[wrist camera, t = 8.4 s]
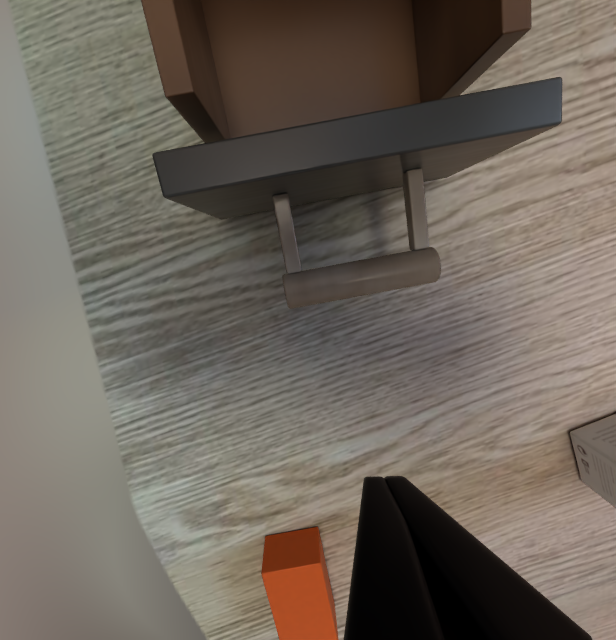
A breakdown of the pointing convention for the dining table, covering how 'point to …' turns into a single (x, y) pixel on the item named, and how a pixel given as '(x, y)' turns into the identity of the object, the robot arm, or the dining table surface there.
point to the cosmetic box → (597, 456)
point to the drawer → (338, 113)
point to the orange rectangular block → (299, 586)
